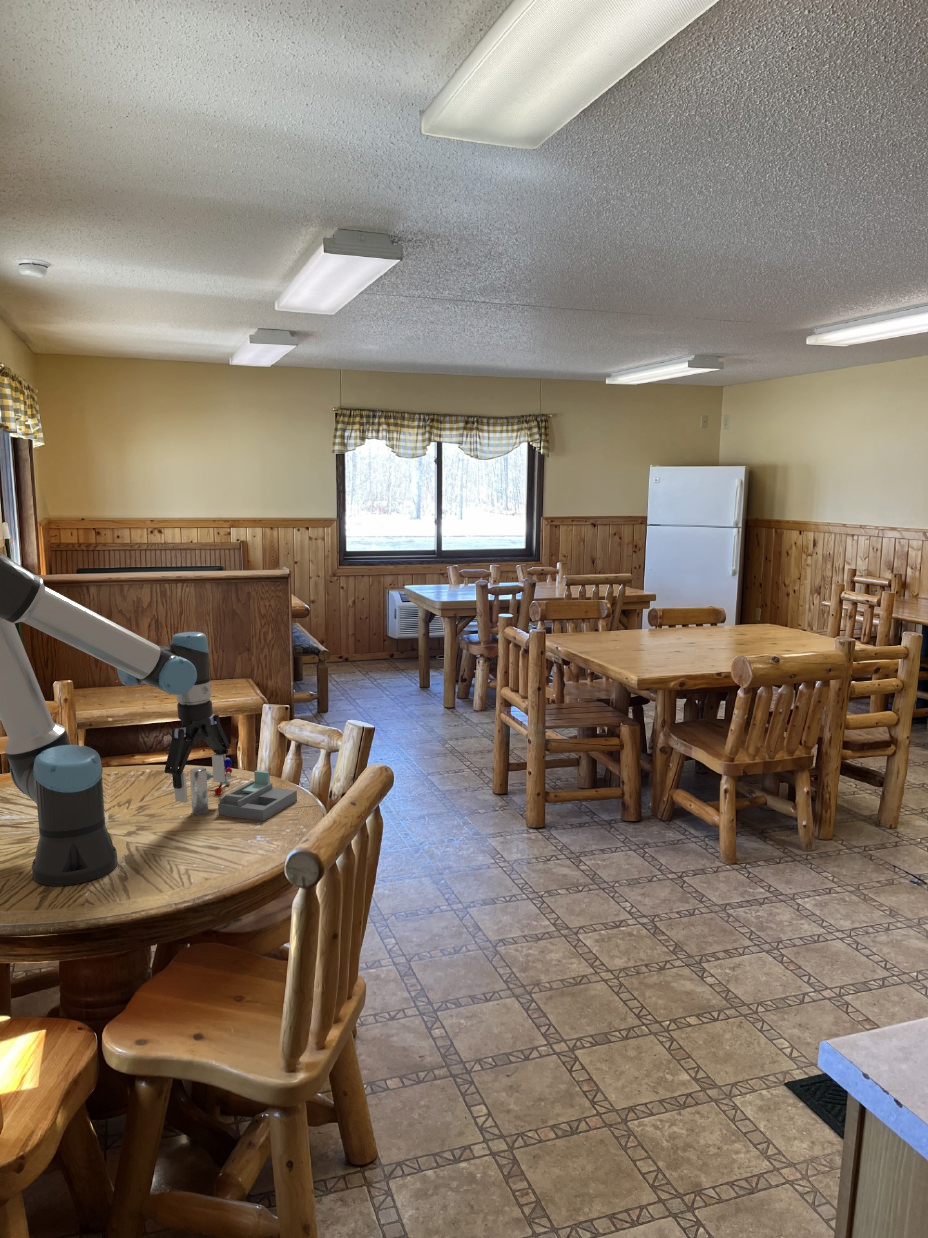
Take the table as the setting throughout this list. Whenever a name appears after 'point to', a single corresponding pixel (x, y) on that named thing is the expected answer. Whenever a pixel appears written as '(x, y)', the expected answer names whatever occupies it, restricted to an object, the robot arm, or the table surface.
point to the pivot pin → (199, 791)
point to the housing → (256, 802)
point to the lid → (258, 781)
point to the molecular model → (228, 774)
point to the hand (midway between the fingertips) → (201, 791)
